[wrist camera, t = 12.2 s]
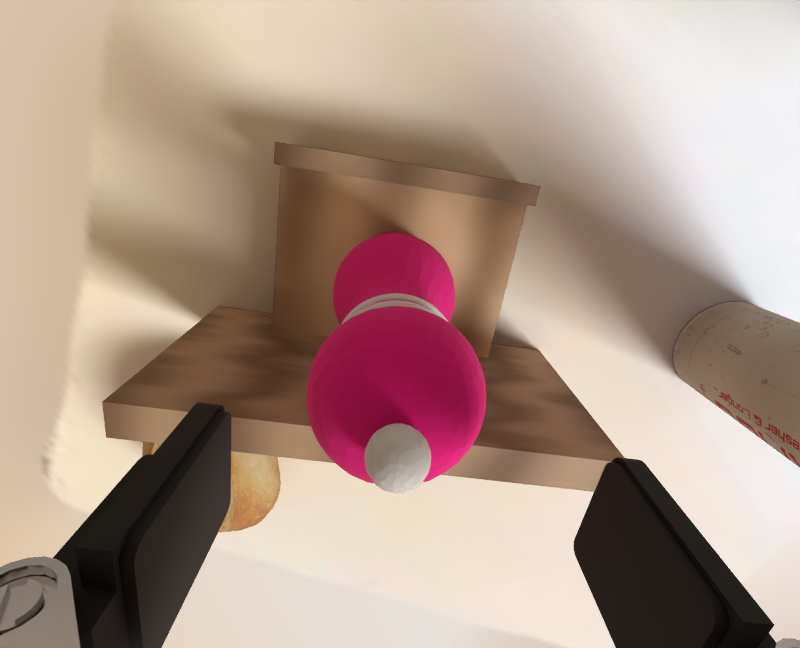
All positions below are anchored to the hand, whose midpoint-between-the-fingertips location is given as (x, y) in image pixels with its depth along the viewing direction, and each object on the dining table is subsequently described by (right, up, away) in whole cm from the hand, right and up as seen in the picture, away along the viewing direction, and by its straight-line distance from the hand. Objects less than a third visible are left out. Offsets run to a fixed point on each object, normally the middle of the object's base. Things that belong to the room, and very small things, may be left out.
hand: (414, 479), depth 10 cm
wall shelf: (-1, +8, +21) cm, 23 cm away
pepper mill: (-1, +7, +19) cm, 20 cm away
